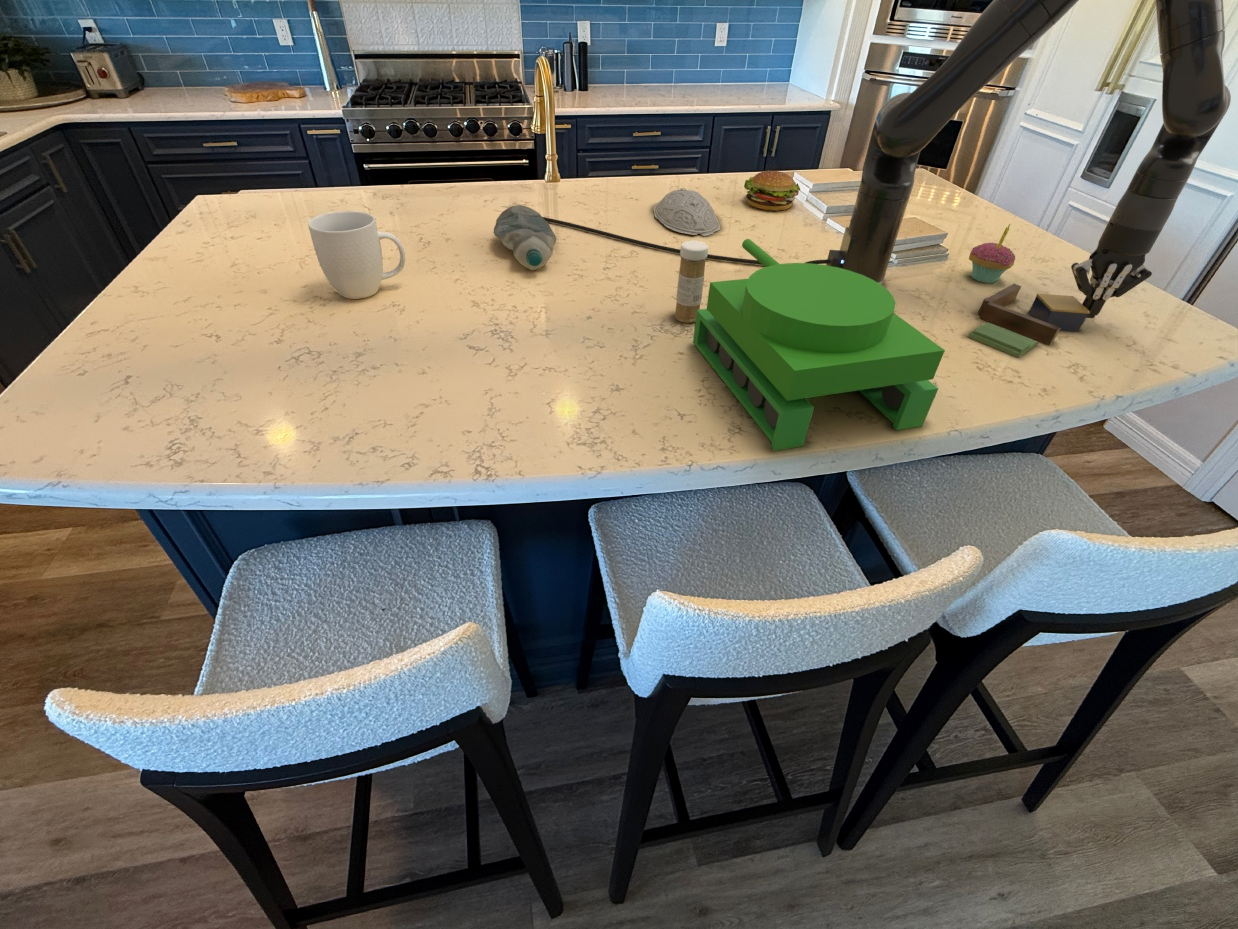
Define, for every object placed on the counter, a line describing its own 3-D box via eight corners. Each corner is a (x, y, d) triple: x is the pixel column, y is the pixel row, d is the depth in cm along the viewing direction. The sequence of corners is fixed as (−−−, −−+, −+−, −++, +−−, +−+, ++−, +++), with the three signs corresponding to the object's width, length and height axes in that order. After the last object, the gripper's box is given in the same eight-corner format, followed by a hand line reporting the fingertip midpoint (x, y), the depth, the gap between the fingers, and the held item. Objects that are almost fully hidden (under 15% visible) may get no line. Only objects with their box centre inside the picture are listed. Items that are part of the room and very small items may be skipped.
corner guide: (997, 341, 111) (1004, 325, 109) (962, 294, 125) (968, 280, 124) (1055, 345, 110) (1063, 330, 108) (1012, 298, 125) (1019, 283, 123)
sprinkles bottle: (690, 310, 116) (699, 237, 107) (704, 321, 112) (713, 247, 104) (669, 315, 114) (676, 241, 105) (682, 326, 111) (690, 250, 102)
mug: (408, 274, 123) (395, 206, 115) (414, 298, 116) (401, 226, 107) (326, 283, 119) (307, 212, 111) (327, 308, 111) (306, 234, 103)
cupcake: (1009, 288, 128) (1036, 229, 121) (966, 284, 129) (990, 225, 122) (999, 272, 135) (1024, 215, 127) (957, 268, 136) (979, 211, 128)
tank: (803, 316, 115) (825, 226, 105) (925, 425, 90) (970, 321, 79) (680, 330, 110) (690, 236, 99) (772, 451, 84) (799, 343, 74)
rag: (967, 336, 112) (970, 329, 111) (986, 326, 115) (989, 319, 114) (1018, 357, 106) (1021, 350, 105) (1036, 345, 110) (1039, 338, 109)
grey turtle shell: (704, 199, 165) (705, 172, 160) (730, 238, 147) (732, 209, 142) (646, 205, 164) (645, 179, 159) (665, 246, 146) (664, 217, 141)
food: (806, 204, 167) (813, 172, 162) (779, 216, 158) (785, 183, 153) (761, 192, 173) (766, 161, 168) (733, 203, 165) (738, 171, 160)
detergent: (492, 234, 141) (498, 277, 122) (491, 201, 137) (497, 240, 118) (550, 237, 144) (565, 279, 125) (551, 204, 140) (567, 243, 121)
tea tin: (1041, 329, 115) (1052, 309, 112) (1027, 313, 120) (1036, 293, 117) (1079, 332, 114) (1090, 311, 112) (1062, 315, 120) (1073, 295, 117)
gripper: (1165, 215, 107) (1113, 309, 118) (1085, 211, 108) (1040, 305, 119) (1192, 230, 102) (1134, 328, 113) (1107, 226, 102) (1058, 323, 113)
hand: (1086, 316), depth 116 cm, fingers closed
